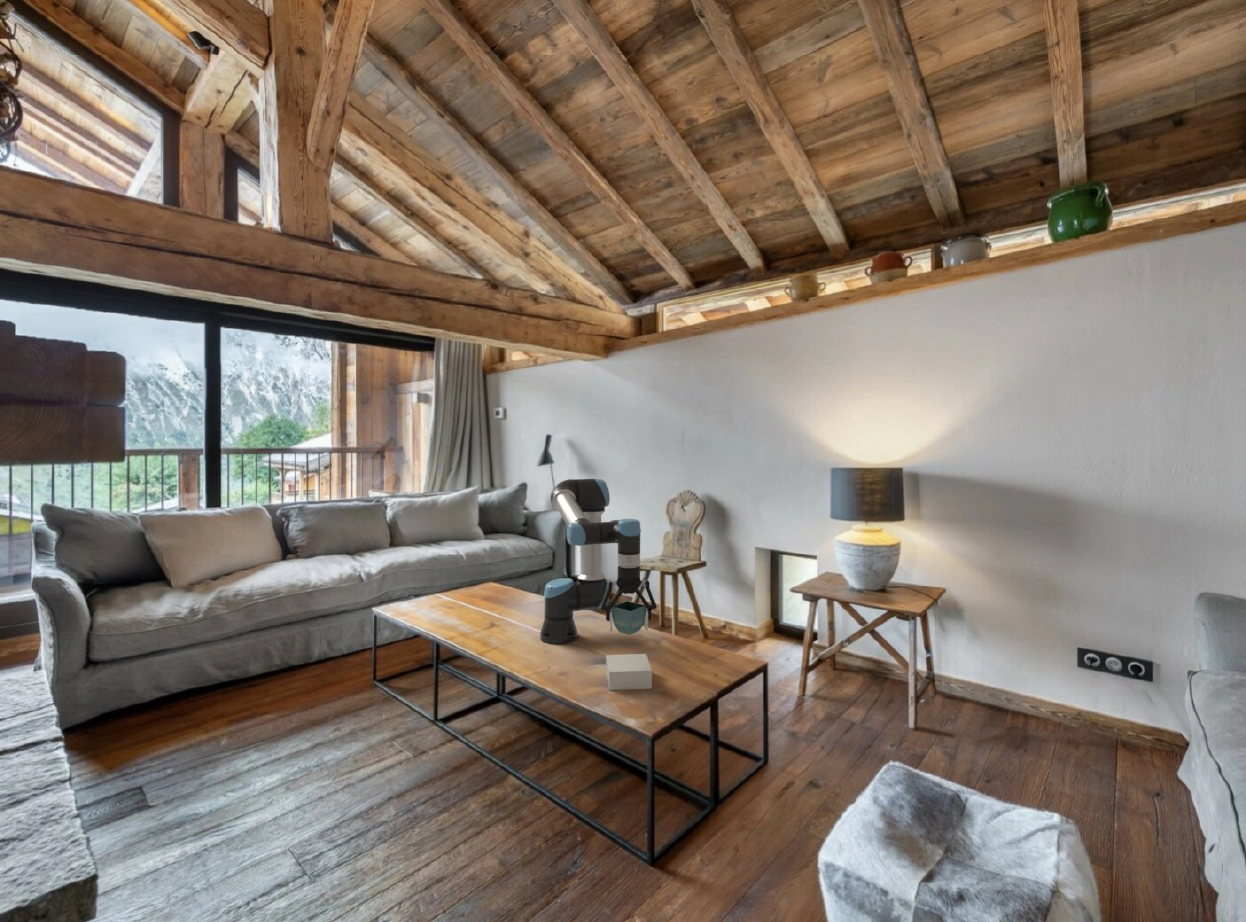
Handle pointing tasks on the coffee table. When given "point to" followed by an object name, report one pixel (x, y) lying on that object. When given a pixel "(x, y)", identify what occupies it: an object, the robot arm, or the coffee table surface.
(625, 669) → the stone slab
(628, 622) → the flower pot
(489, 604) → the coffee table surface
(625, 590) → the robot arm
